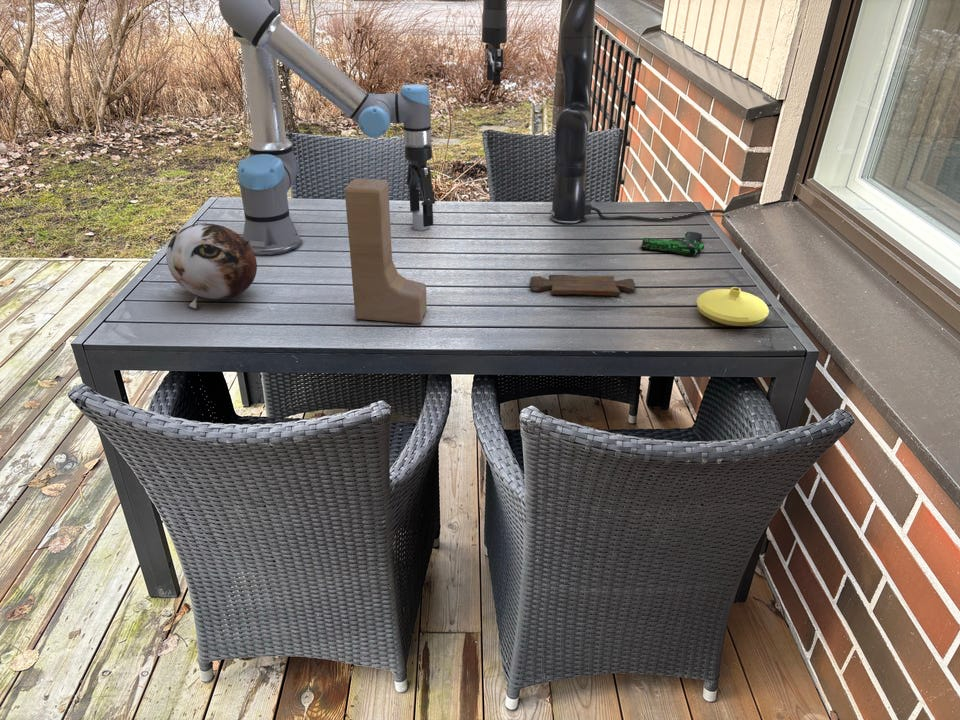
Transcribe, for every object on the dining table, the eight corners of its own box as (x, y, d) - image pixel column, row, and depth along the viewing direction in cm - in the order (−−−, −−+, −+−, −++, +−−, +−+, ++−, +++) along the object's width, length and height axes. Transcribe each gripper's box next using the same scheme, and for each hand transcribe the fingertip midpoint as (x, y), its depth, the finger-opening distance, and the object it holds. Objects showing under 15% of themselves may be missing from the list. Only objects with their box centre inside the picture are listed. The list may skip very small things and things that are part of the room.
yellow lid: (708, 296, 172) (714, 269, 169) (775, 314, 165) (782, 286, 161) (683, 320, 161) (688, 292, 158) (753, 340, 154) (760, 311, 150)
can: (414, 225, 212) (413, 209, 210) (428, 225, 212) (428, 210, 210) (411, 230, 209) (411, 214, 206) (426, 230, 208) (426, 215, 206)
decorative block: (420, 325, 158) (416, 192, 142) (354, 319, 159) (343, 187, 144) (427, 309, 164) (423, 181, 149) (363, 305, 166) (354, 177, 150)
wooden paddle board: (638, 298, 171) (631, 281, 180) (639, 292, 170) (632, 275, 179) (530, 294, 172) (529, 277, 180) (531, 288, 171) (529, 271, 179)
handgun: (708, 232, 202) (701, 248, 190) (707, 242, 204) (700, 259, 192) (651, 225, 208) (641, 240, 196) (650, 234, 209) (639, 251, 197)
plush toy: (130, 285, 161) (164, 203, 163) (192, 308, 177) (221, 233, 178) (195, 307, 151) (229, 220, 152) (254, 330, 166) (285, 250, 168)
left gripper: (445, 154, 189) (447, 230, 200) (418, 133, 209) (421, 203, 220) (417, 157, 187) (421, 234, 198) (393, 135, 207) (398, 206, 218)
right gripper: (477, 22, 219) (476, 78, 227) (487, 28, 207) (486, 87, 216) (501, 22, 221) (499, 78, 229) (512, 27, 209) (510, 86, 217)
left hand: (421, 218), depth 209 cm, fingers open, 13 cm apart
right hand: (493, 82), depth 222 cm, fingers open, 8 cm apart
